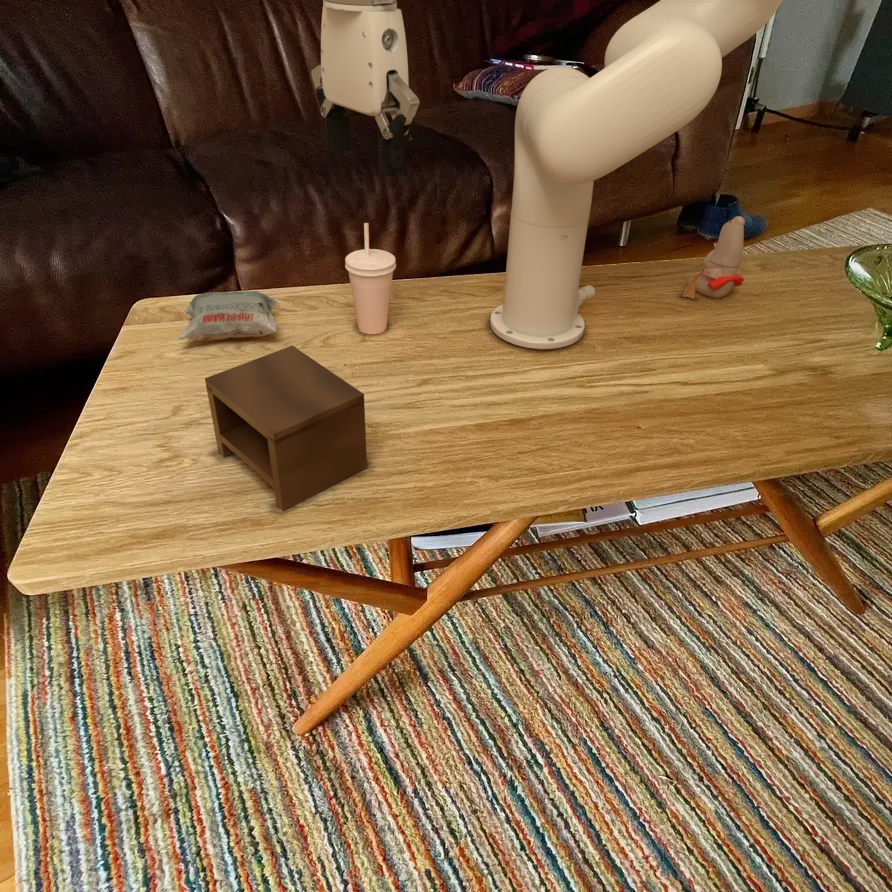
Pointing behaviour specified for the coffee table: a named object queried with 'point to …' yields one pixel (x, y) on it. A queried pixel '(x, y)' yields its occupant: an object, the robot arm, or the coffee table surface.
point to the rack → (289, 423)
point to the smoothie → (371, 285)
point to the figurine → (720, 263)
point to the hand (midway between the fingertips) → (364, 162)
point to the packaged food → (230, 316)
